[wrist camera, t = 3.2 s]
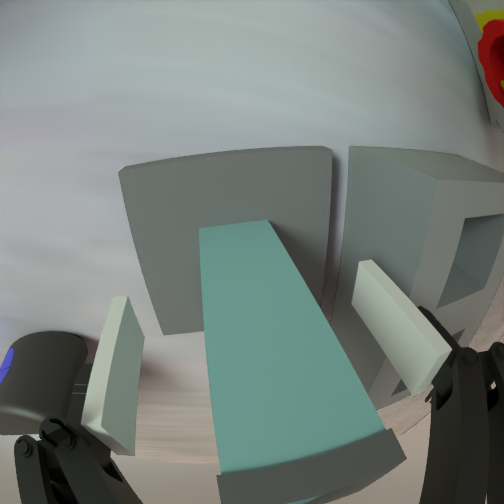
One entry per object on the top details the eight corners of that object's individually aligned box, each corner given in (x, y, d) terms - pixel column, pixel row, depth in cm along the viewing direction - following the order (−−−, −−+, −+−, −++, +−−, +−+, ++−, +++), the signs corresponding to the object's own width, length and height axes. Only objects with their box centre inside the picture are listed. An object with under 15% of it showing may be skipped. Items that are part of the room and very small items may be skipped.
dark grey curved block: (59, 306, 18) (21, 401, 10) (95, 342, 20) (74, 436, 12) (-6, 353, 19) (-31, 414, 11) (20, 377, 21) (2, 439, 13)
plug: (197, 227, 16) (223, 513, 4) (269, 218, 16) (406, 458, 4) (207, 286, 18) (241, 521, 6) (270, 277, 18) (359, 491, 6)
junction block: (349, 146, 16) (436, 179, 9) (461, 155, 18) (530, 186, 11) (324, 355, 26) (354, 418, 19) (416, 325, 28) (452, 372, 21)
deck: (125, 166, 14) (118, 172, 13) (321, 146, 16) (332, 149, 15) (164, 321, 20) (163, 335, 19) (313, 298, 22) (320, 310, 21)
